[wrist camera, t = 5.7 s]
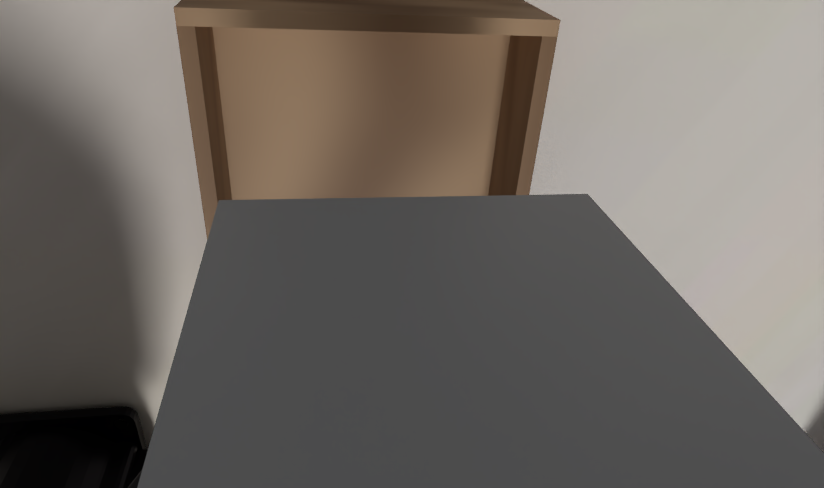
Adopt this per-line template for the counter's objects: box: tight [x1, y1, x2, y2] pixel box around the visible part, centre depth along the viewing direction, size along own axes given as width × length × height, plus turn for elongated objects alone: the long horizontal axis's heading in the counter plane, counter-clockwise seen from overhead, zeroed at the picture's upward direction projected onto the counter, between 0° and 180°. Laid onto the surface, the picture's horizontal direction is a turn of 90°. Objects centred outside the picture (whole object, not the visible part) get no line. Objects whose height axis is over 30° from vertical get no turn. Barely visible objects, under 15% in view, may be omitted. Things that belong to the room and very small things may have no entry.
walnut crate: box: [174, 0, 560, 240], centre depth 17 cm, size 9×9×3 cm
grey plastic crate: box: [137, 194, 824, 488], centre depth 8 cm, size 6×6×6 cm
